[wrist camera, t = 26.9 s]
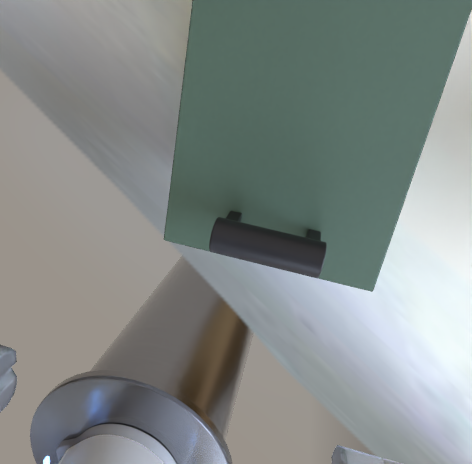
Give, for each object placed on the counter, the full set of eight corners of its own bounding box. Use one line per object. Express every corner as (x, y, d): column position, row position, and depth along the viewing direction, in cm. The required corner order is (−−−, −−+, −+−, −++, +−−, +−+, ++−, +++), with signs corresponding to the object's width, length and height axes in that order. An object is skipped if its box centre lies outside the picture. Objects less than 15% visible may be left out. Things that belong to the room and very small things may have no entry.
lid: (371, 285, 24) (382, 331, 20) (168, 235, 25) (135, 268, 21) (483, -38, 18) (536, -77, 13) (207, -80, 19) (173, -128, 15)
